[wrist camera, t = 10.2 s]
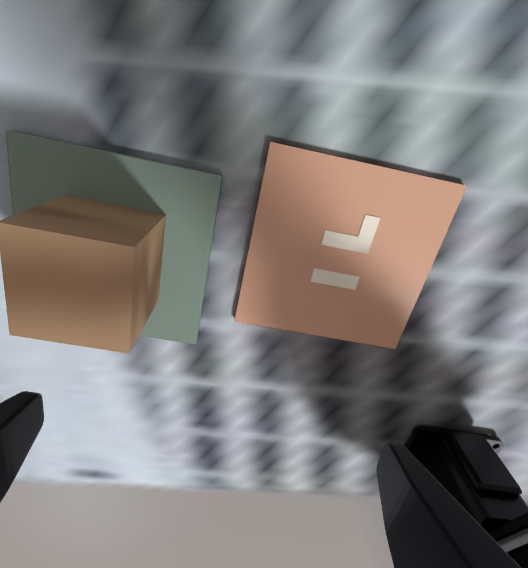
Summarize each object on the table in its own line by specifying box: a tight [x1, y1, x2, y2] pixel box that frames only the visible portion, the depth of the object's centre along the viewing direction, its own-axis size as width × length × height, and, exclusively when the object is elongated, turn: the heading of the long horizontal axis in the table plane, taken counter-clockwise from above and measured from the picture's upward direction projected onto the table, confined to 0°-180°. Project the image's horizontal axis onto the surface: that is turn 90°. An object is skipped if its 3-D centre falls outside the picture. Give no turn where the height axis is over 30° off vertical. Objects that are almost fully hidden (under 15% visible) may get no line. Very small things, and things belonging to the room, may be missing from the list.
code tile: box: [235, 142, 467, 349], centre depth 19 cm, size 10×10×1 cm
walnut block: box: [0, 195, 166, 353], centre depth 17 cm, size 5×5×5 cm
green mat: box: [6, 131, 222, 345], centre depth 19 cm, size 10×10×1 cm
